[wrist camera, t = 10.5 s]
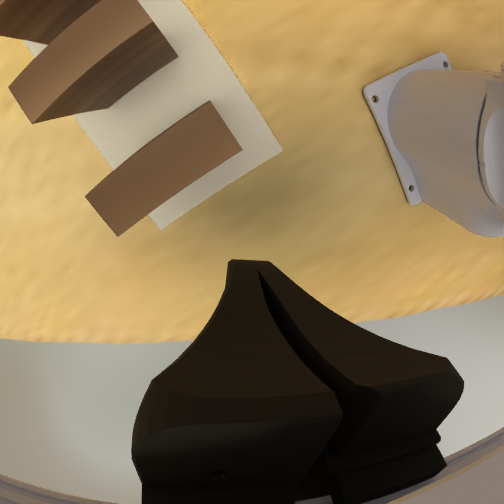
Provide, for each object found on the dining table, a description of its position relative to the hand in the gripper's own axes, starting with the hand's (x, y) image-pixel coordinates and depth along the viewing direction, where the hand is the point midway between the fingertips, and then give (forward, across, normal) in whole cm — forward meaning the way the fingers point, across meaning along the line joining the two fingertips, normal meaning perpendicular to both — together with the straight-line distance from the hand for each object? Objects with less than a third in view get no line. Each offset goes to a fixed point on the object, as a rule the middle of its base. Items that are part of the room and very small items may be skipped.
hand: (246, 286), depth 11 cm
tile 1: (+10, +3, -4) cm, 11 cm away
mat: (+10, +8, -9) cm, 16 cm away
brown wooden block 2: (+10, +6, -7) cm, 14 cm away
